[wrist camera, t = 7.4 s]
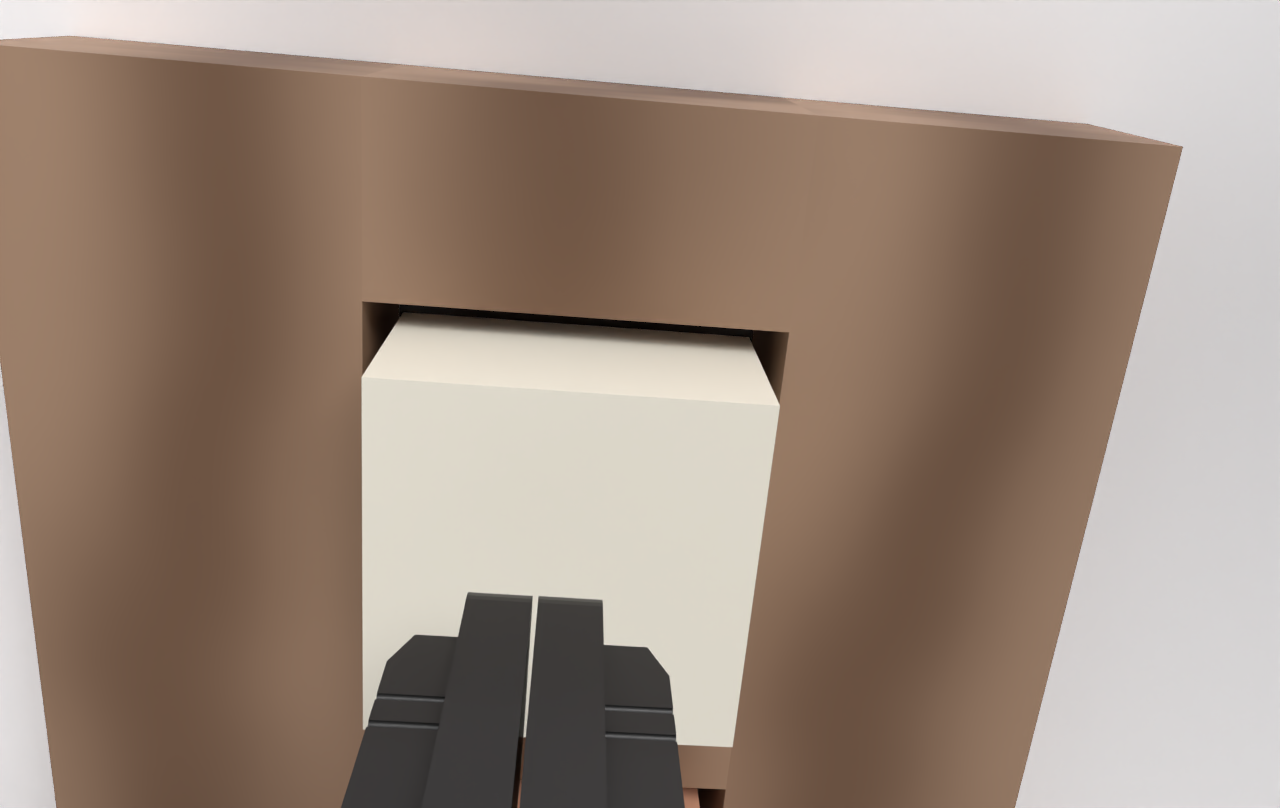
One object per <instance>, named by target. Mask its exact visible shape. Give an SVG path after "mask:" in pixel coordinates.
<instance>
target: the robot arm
mask: <svg viewBox="0 0 1280 808" xmlns="http://www.w3.org/2000/svg"><path fill="white" fill-rule="evenodd" d="M532 602H533V596H527V595H510V594H493V593H476V592H468V593H467V597H466V601H465V606H464V611H463V615H462V620H461V625H460V629H459V634H458V637H450V636H432V635H414V636H413V637H412V638H411V639H410V640H409V641H408V642H407V643H405V644H404V645H403V646H402V647H401V648H400V649H399V650H398V651H397V652H396V653H395V654H394V655H393V656H392V657H391V658H389V659H388V660H387V662H386V665H385V668H384V672H383V675H382V678H381V681H380V684H379V688H378V691H377V697H376V700H374V704H373V707H372V710H371V713H370V716H369V720H368V727H366V729H365V732H364V735H363V739H362V742H361V745H360V748H359V751H358V755H357V758H356V761H355V764H354V767H353V771H352V774H351V777H350V780H349V783H348V787H347V790H346V793H345V796H344V799H343V802H342V806H341V808H517V806H518V795H519V784H520V773H521V762H522V750H523V737H524V723H525V709H526V694H527V679H528V664H529V649H530V634H531V619H532ZM519 808H685V804H684V796H683V787H682V779H681V770H680V762H679V753H678V745H677V742H676V728H675V719H674V715H673V702H672V693H671V685H670V676H669V675H668V673H667V672H666V671H665V670H664V668H663V667H662V666H661V664H660V663H659V662H658V660H657V659H656V658H655V657H654V655H653V654H652V653H651V651H650V650H649V649H648V647H633V646H615V645H604V632H603V600H599V599H582V598H565V597H548V596H539V597H538V607H537V618H536V629H535V640H534V651H533V662H532V674H531V685H530V696H529V707H528V718H527V729H526V740H525V751H524V763H523V774H522V785H521V796H520V807H519Z"/></svg>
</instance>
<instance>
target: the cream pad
mask: <svg viewBox="0 0 1280 808" xmlns="http://www.w3.org/2000/svg"><path fill="white" fill-rule="evenodd" d="M779 409H780V405H779V403H778V400H777V398H776V396H775V394H774V392H773V389H772V387H771V385H770V383H769V381H768V378H767V376H766V374H765V372H764V369H763V367H762V365H761V363H760V361H759V358H758V356H757V354H756V352H755V350H754V347H753V345H752V343H751V341H750V339H749V337H741V336H727V335H713V334H700V333H686V332H672V331H658V330H644V329H630V328H617V327H603V326H589V325H575V324H561V323H548V322H534V321H520V320H506V319H492V318H478V317H465V316H451V315H437V314H423V313H409V312H403V313H402V315H401V317H400V318H399V320H398V321H397V323H396V324H395V326H394V327H393V329H392V331H391V332H390V334H389V335H388V337H387V338H386V340H385V341H384V343H383V345H382V346H381V348H380V349H379V351H378V352H377V354H376V355H375V357H374V359H373V360H372V362H371V363H370V365H369V366H368V368H367V369H366V371H365V373H364V374H363V376H362V619H363V730H365V729H366V727H368V720H369V716H370V713H371V710H372V707H373V704H374V700H376V697H377V691H378V688H379V684H380V681H381V678H382V675H383V672H384V668H385V665H386V662H387V660H388V659H389V658H391V657H392V656H393V655H394V654H395V653H396V652H397V651H398V650H399V649H400V648H401V647H402V646H403V645H404V644H405V643H407V642H408V641H409V640H410V639H411V638H412V637H413V636H414V635H432V636H450V637H458V634H459V629H460V625H461V620H462V615H463V611H464V606H465V601H466V597H467V593H468V592H476V593H493V594H510V595H527V596H533V602H532V619H531V634H530V649H529V664H528V679H527V694H526V709H525V723H524V737H526V729H527V718H528V707H529V696H530V685H531V674H532V662H533V651H534V640H535V629H536V618H537V607H538V597H539V596H548V597H565V598H582V599H599V600H603V632H604V645H615V646H633V647H648V649H649V650H650V651H651V653H652V654H653V655H654V657H655V658H656V659H657V660H658V662H659V663H660V664H661V666H662V667H663V668H664V670H665V671H666V672H667V673H668V675H669V676H670V685H671V693H672V702H673V715H674V719H675V728H676V742H677V745H695V746H716V747H733V740H734V733H735V726H736V719H737V711H738V704H739V697H740V690H741V683H742V676H743V668H744V661H745V654H746V647H747V640H748V632H749V625H750V618H751V611H752V604H753V596H754V589H755V582H756V575H757V568H758V560H759V553H760V546H761V539H762V532H763V524H764V517H765V510H766V503H767V496H768V489H769V481H770V474H771V467H772V460H773V453H774V445H775V438H776V431H777V424H778V417H779Z"/></svg>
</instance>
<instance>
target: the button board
mask: <svg viewBox="0 0 1280 808" xmlns="http://www.w3.org/2000/svg"><path fill="white" fill-rule="evenodd" d="M1182 148H1183V147H1182V146H1177V145H1173V144H1169V143H1165V142H1161V141H1156V140H1152V139H1148V138H1144V137H1140V136H1136V135H1131V134H1127V133H1123V132H1119V131H1115V130H1111V129H1106V128H1102V127H1098V126H1094V125H1090V124H1081V123H1069V122H1058V121H1046V120H1034V119H1023V118H1011V117H1000V116H988V115H977V114H965V113H954V112H942V111H931V110H919V109H908V108H896V107H885V106H873V105H861V104H850V103H838V102H827V101H815V100H804V99H792V98H781V97H769V96H758V95H746V94H735V93H723V92H712V91H700V90H688V89H677V88H665V87H654V86H642V85H631V84H619V83H608V82H596V81H585V80H573V79H562V78H550V77H538V76H527V75H515V74H504V73H492V72H481V71H469V70H458V69H446V68H435V67H423V66H412V65H400V64H389V63H377V62H365V61H354V60H342V59H331V58H319V57H308V56H296V55H285V54H273V53H262V52H250V51H239V50H227V49H216V48H204V47H192V46H181V45H169V44H158V43H146V42H135V41H123V40H112V39H100V38H89V37H77V36H59V37H41V38H22V39H4V40H0V362H1V370H2V378H3V386H4V394H5V402H6V410H7V418H8V426H9V434H10V442H11V450H12V458H13V466H14V474H15V482H16V490H17V497H18V505H19V513H20V521H21V529H22V537H23V545H24V553H25V561H26V569H27V577H28V585H29V593H30V601H31V609H32V617H33V625H34V633H35V641H36V649H37V656H38V664H39V672H40V680H41V688H42V696H43V704H44V712H45V720H46V728H47V736H48V744H49V752H50V760H51V768H52V776H53V784H54V792H55V800H56V808H341V806H342V802H343V799H344V796H345V793H346V790H347V787H348V783H349V780H350V777H351V774H352V771H353V767H354V764H355V761H356V758H357V755H358V751H359V748H360V745H361V742H362V739H363V735H364V732H365V730H363V619H362V376H363V374H364V373H365V371H366V369H367V368H368V366H369V365H370V363H371V362H372V360H373V359H374V357H375V355H376V354H377V352H378V351H379V349H380V348H381V346H382V345H383V343H384V341H385V340H386V338H387V337H388V335H389V334H390V332H391V331H392V329H393V327H394V326H395V324H396V323H397V321H398V320H399V304H405V305H419V306H433V307H447V308H460V309H474V310H488V311H502V312H515V313H529V314H543V315H556V316H570V317H584V318H598V319H611V320H625V321H639V322H653V323H666V324H680V325H694V326H708V327H721V328H735V329H749V330H753V338H752V345H753V347H754V350H755V352H756V354H757V356H758V358H759V361H760V363H761V365H762V367H763V369H764V372H765V374H766V376H767V378H768V381H769V383H770V385H771V387H772V389H773V392H774V394H775V396H776V398H777V400H778V403H779V405H780V409H779V417H778V424H777V431H776V438H775V445H774V453H773V460H772V467H771V474H770V481H769V489H768V496H767V503H766V510H765V517H764V524H763V532H762V539H761V546H760V553H759V560H758V568H757V575H756V582H755V589H754V596H753V604H752V611H751V618H750V625H749V632H748V640H747V647H746V654H745V661H744V668H743V676H742V683H741V690H740V697H739V704H738V711H737V719H736V726H735V733H734V740H733V747H716V746H695V745H678V753H679V762H680V770H681V779H682V787H684V788H697V790H698V798H699V806H700V808H1015V805H1016V801H1017V797H1018V793H1019V789H1020V785H1021V781H1022V777H1023V773H1024V769H1025V765H1026V761H1027V757H1028V753H1029V750H1030V746H1031V742H1032V738H1033V734H1034V730H1035V726H1036V722H1037V718H1038V714H1039V710H1040V706H1041V702H1042V698H1043V694H1044V691H1045V687H1046V683H1047V679H1048V675H1049V671H1050V667H1051V663H1052V659H1053V655H1054V651H1055V647H1056V643H1057V639H1058V636H1059V632H1060V628H1061V624H1062V620H1063V616H1064V612H1065V608H1066V604H1067V600H1068V596H1069V592H1070V588H1071V584H1072V580H1073V577H1074V573H1075V569H1076V565H1077V561H1078V557H1079V553H1080V549H1081V545H1082V541H1083V537H1084V533H1085V529H1086V525H1087V521H1088V518H1089V514H1090V510H1091V506H1092V502H1093V498H1094V494H1095V490H1096V486H1097V482H1098V478H1099V474H1100V470H1101V466H1102V462H1103V459H1104V455H1105V451H1106V447H1107V443H1108V439H1109V435H1110V431H1111V427H1112V423H1113V419H1114V415H1115V411H1116V407H1117V404H1118V400H1119V396H1120V392H1121V388H1122V384H1123V380H1124V376H1125V372H1126V368H1127V364H1128V360H1129V356H1130V352H1131V348H1132V345H1133V341H1134V337H1135V333H1136V329H1137V325H1138V321H1139V317H1140V313H1141V309H1142V305H1143V301H1144V297H1145V293H1146V289H1147V286H1148V282H1149V278H1150V274H1151V270H1152V266H1153V262H1154V258H1155V254H1156V250H1157V246H1158V242H1159V238H1160V234H1161V230H1162V227H1163V223H1164V219H1165V215H1166V211H1167V207H1168V203H1169V199H1170V195H1171V191H1172V187H1173V183H1174V179H1175V175H1176V172H1177V168H1178V164H1179V160H1180V156H1181V152H1182ZM525 740H526V737H523V750H522V762H521V773H520V780H522V774H523V763H524V751H525Z"/></svg>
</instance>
